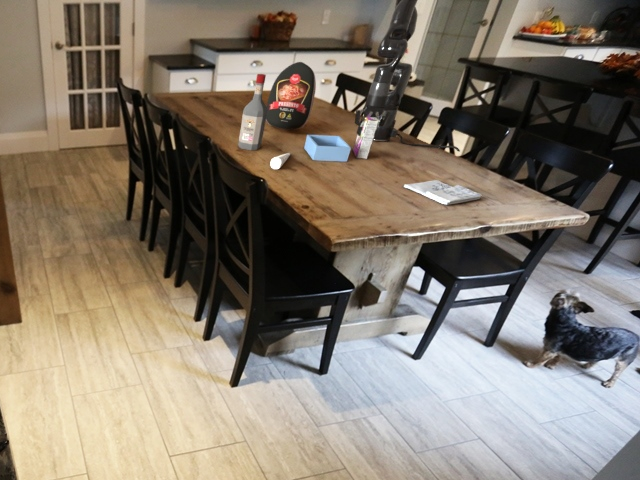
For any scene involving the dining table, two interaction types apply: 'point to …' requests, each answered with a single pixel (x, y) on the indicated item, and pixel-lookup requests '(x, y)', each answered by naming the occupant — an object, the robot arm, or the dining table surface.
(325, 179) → the dining table surface
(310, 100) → the packaged food
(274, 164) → the unicorn horn
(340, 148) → the crate
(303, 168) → the dining table surface
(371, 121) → the candy bar box
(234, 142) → the dining table surface
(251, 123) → the liquor
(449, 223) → the dining table surface
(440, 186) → the folded newspaper
